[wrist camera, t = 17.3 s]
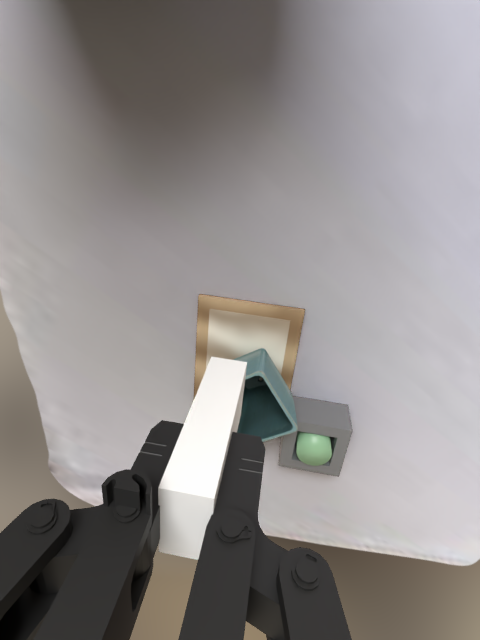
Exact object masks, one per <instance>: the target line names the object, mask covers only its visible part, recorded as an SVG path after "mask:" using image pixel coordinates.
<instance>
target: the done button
mask: <svg viewBox="0 0 480 640" xmlns="http://www.w3.org/2000/svg"><path fill="white" fill-rule="evenodd" d="M296 452H297V456H298V458H299V459H300V460H301V461H302V462H303V463H305V464H308V465H312V466H319V465H323V464H325V463H327V462H328V461H329V460H330V458H331V456H332V449H331V439H330V437H329V436H324V435H318V434H312V433H306V432H301V431H297V450H296Z"/></svg>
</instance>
